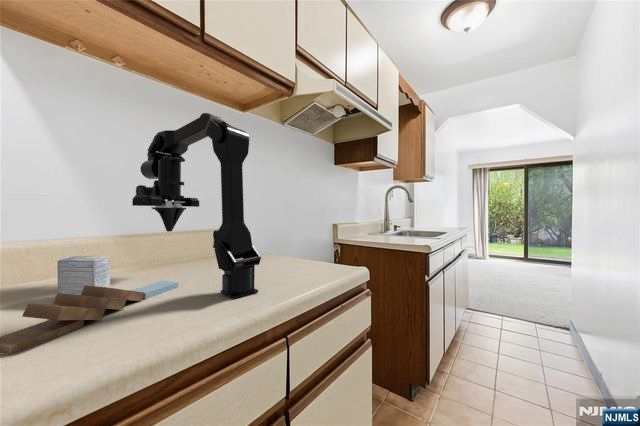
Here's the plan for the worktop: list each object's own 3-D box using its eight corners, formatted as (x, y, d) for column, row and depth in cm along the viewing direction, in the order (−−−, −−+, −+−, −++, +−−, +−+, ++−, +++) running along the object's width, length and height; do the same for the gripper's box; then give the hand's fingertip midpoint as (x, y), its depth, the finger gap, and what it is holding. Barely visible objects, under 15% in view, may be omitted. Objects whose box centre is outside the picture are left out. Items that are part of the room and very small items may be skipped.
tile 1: (162, 280, 66) (127, 291, 58) (178, 282, 65) (145, 293, 56) (162, 287, 66) (127, 299, 58) (178, 289, 65) (145, 301, 56)
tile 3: (104, 297, 52) (57, 293, 44) (126, 300, 51) (83, 295, 43) (100, 307, 51) (52, 304, 43) (123, 309, 51) (78, 307, 42)
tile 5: (60, 316, 45) (-17, 342, 36) (83, 319, 44) (10, 346, 35) (60, 326, 45) (-17, 355, 36) (83, 329, 44) (9, 360, 35)
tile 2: (124, 290, 57) (84, 285, 49) (144, 292, 56) (106, 287, 48) (121, 299, 56) (80, 295, 48) (141, 301, 55) (103, 297, 47)
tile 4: (77, 305, 46) (28, 303, 38) (105, 308, 47) (63, 307, 38) (72, 316, 46) (21, 316, 37) (101, 319, 46) (57, 320, 38)
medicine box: (110, 293, 60) (110, 256, 60) (94, 300, 55) (94, 259, 55) (75, 293, 60) (75, 255, 60) (56, 300, 55) (56, 259, 55)
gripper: (171, 181, 86) (171, 228, 87) (115, 173, 68) (115, 233, 68) (200, 181, 84) (200, 229, 84) (150, 173, 66) (150, 234, 66)
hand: (169, 231), depth 76 cm, fingers closed
